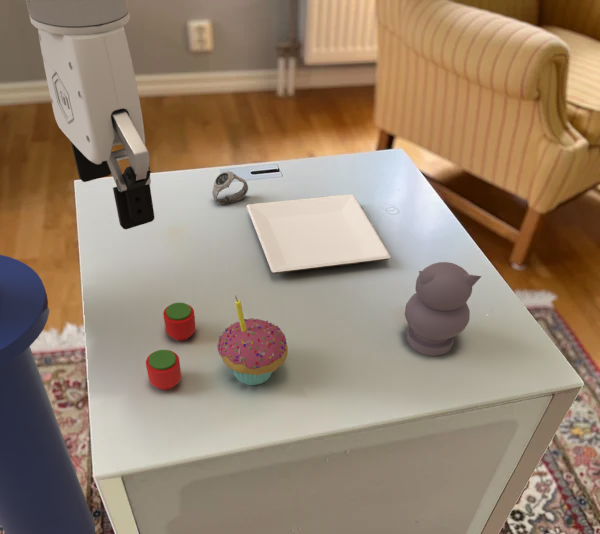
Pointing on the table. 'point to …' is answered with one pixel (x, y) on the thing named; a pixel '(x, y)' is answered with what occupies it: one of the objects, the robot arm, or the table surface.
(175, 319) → the green-lidded red jar
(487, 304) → the table surface
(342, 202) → the plate
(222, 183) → the wristwatch
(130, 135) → the robot arm
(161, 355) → the red cylinder green top
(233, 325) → the cupcake
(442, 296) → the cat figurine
